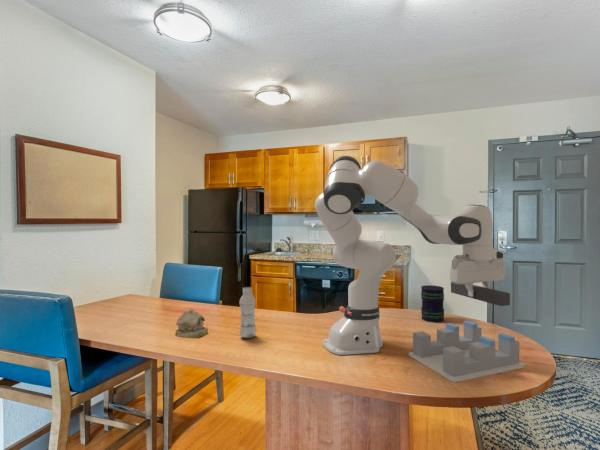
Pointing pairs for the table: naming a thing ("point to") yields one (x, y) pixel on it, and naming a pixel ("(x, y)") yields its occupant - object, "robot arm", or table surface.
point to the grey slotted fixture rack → (465, 352)
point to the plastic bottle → (247, 313)
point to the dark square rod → (483, 294)
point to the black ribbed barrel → (432, 303)
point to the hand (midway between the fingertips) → (477, 295)
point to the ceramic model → (191, 325)
